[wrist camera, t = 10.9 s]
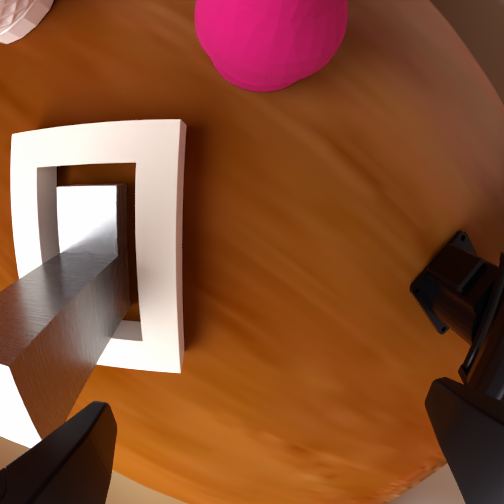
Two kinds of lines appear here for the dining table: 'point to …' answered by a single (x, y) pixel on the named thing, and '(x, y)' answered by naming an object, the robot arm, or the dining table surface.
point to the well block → (146, 222)
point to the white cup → (20, 17)
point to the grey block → (63, 312)
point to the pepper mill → (270, 39)
